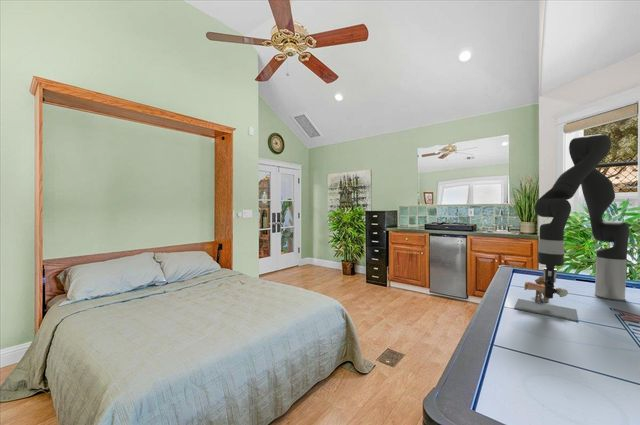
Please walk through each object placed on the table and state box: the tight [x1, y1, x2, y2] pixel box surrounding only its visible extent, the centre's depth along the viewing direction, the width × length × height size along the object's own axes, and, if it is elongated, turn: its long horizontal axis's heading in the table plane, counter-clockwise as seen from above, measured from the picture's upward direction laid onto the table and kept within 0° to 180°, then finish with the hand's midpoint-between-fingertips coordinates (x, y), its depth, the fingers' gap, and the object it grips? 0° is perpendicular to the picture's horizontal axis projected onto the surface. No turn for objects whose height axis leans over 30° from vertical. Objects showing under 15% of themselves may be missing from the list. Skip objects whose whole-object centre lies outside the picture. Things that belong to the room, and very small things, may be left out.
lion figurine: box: [534, 275, 550, 303], centre depth 118 cm, size 15×5×9 cm, turn 143°
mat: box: [513, 298, 579, 323], centre depth 106 cm, size 14×18×1 cm
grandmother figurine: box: [524, 281, 569, 298], centre depth 106 cm, size 8×4×13 cm
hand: (549, 295), depth 105 cm, fingers closed on grandmother figurine, 7 cm apart
